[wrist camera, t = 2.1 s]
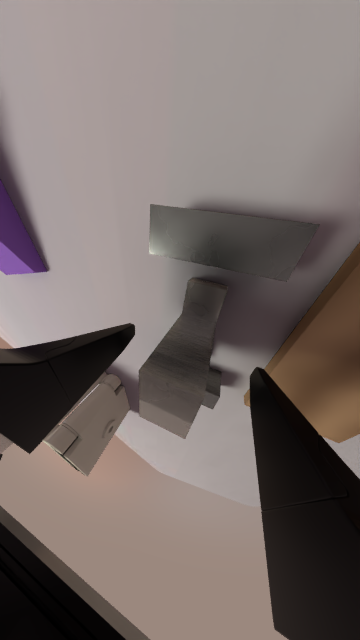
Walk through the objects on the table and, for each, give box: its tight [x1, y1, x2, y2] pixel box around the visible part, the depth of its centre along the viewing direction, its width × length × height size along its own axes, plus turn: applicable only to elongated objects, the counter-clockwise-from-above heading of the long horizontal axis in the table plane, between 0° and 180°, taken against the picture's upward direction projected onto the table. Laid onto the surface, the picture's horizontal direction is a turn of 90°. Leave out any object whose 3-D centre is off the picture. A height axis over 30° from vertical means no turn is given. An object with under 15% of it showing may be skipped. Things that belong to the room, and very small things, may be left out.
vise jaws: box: [149, 204, 320, 409], centre depth 11 cm, size 8×16×3 cm, turn 171°
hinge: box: [43, 372, 130, 476], centre depth 21 cm, size 14×5×10 cm, turn 12°
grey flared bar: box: [139, 278, 228, 439], centre depth 9 cm, size 3×8×8 cm, turn 171°
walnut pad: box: [244, 243, 360, 443], centre depth 10 cm, size 9×16×1 cm, turn 171°
